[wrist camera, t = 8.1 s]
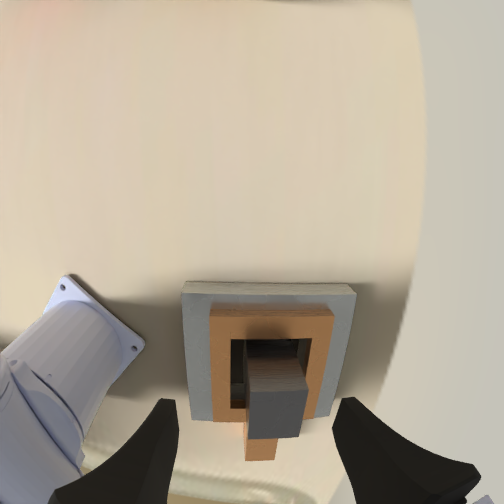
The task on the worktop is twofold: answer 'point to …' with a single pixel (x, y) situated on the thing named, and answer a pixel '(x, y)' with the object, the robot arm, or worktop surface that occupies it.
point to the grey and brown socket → (262, 327)
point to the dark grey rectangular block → (273, 389)
